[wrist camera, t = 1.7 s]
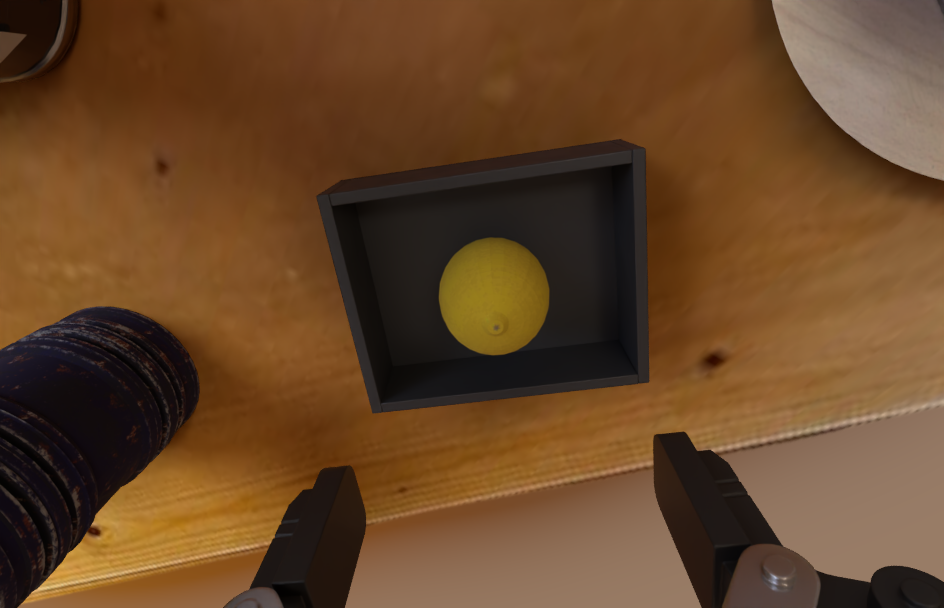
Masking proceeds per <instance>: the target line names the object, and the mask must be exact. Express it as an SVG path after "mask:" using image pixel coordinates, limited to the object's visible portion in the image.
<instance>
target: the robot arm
mask: <svg viewBox="0 0 944 608" xmlns="http://www.w3.org/2000/svg"><path fill="white" fill-rule="evenodd" d="M77 18H78V0H0V82H24V81H28V80H32V79H35V78H37V77H40V76H42V75H44V74H46V73H47V72H49V71H50V70H51V69H53V68H54V67H55V66H56V65H57V64H58V63H59V62H60V61H61V60H62V58H63V57H64V56H65V54H66V52H67V51H68V49H69V47H70V45H71V43H72V40H73V37H74V34H75V30H76V26H77ZM653 454H654V487H655V493H656V498H657V501H658V504H659V507H660V510H661V512H662V514H663V517H664V519H665V521H666V524H667V526H668V529H669V531H670V533H671V535H672V538H673V540H674V543H675V545H676V548H677V550H678V552H679V555H680V557H681V559H682V561H683V564H684V567H685V569H686V571H687V573H688V576H689V578H690V581H691V583H692V586H693V588H694V590H695V592H696V595H697V597H698V599H699V602H700V605H701V607H702V608H944V582H943V581H941V580H939V579H938V578H936V577H934V576H932V575H930V574H928V573H925V572H922V571H920V570H917V569H913V568H910V567H904V566H887V567H883V568H881V569H879V570H877V571H876V572H875V573H874V574H873V576H872V578H871V583H869V582H865V581H859V580H854V579H848V578H843V577H837V576H832V575H828V574H824V573H822V572H819V571H816V570H815V569H814V567H813V566H812V565H811V564H810V563H809V562H808V561H807V560H806V559H805V558H803V557H802V556H800V555H799V554H798V553H796V552H794V551H792V550H790V549H788V548H785V547H783V545H782V544H781V543H780V541H779V540H778V538H777V537H776V535H775V533H774V532H773V531H772V529H771V527H770V526H769V525H768V523H767V521H766V520H765V518H764V517H763V515H762V514H761V512H760V511H759V509H758V508H757V506H756V505H755V503H754V502H753V500H752V498H751V497H750V496H749V495H748V494H747V491H746V489H745V488H744V486H743V485H742V483H741V482H739V479H738V477H737V476H736V474H735V473H734V472H733V470H732V468H731V467H730V465H729V464H728V462H726V461H725V460H724V459H722V458H721V457H719V456H718V455H717V454H715V453H714V452H713V451H711V450H704V451H697V450H696V448H695V447H694V445H693V443H692V442H691V440H690V438H689V437H688V435H687V434H686V433H685V432H676V433H666V434H657V435H654V439H653ZM365 529H366V513H365V508H364V504H363V501H362V497H361V494H360V490H359V487H358V483H357V480H356V476H355V473H354V470H353V468H352V467H351V466H350V465H349V466H339V467H329V468H323V469H322V470H321V471H320V473H319V475H318V477H317V480H316V482H315V484H314V486H313V489H307V490H303V491H302V492H301V493H300V494H299V495H298V496H297V497H296V498H295V499H294V500H293V501H292V502H291V504H290V505H289V506H288V508H287V511H286V513H285V515H284V517H283V519H282V521H281V525H279V527H278V530H277V532H276V534H275V539H273V540H272V542H271V544H270V546H269V549H268V551H267V553H266V555H265V557H264V559H263V561H262V563H261V566H260V568H259V570H258V572H257V574H256V576H255V578H254V580H253V582H252V584H251V587H250V589H249V590H247V591H244V592H243V593H241V594H239V595H237V596H236V597H234V598H233V599H232V600H231V601H229V602H228V603H227V604H226V605H225V606H224V607H223V608H345V605H346V601H347V597H348V594H349V590H350V586H351V582H352V579H353V575H354V572H355V568H356V564H357V560H358V557H359V553H360V549H361V546H362V542H363V538H364V535H365Z"/></svg>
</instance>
